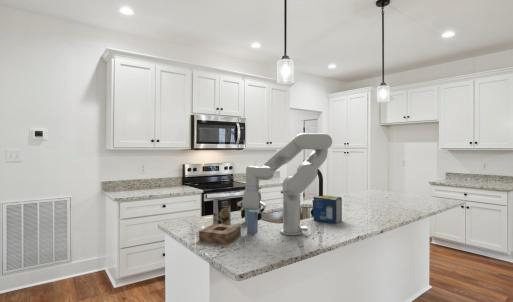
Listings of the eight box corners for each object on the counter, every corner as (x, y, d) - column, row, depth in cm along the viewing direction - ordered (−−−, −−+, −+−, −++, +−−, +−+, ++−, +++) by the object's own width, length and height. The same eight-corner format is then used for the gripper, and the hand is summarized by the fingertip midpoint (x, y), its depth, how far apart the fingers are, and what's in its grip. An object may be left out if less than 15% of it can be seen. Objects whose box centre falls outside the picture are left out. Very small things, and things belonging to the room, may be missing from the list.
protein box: (320, 217, 200) (320, 194, 199) (342, 221, 190) (342, 197, 190) (313, 220, 191) (313, 196, 191) (335, 224, 182) (335, 199, 182)
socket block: (240, 235, 158) (240, 226, 157) (227, 244, 143) (227, 234, 143) (214, 232, 163) (214, 223, 163) (199, 240, 148) (199, 231, 148)
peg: (257, 232, 164) (257, 211, 164) (254, 234, 160) (254, 212, 160) (250, 231, 165) (250, 210, 165) (247, 233, 161) (247, 211, 161)
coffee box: (218, 227, 174) (218, 200, 174) (212, 224, 179) (212, 198, 179) (231, 224, 180) (231, 198, 180) (225, 222, 185) (225, 197, 185)
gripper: (269, 188, 163) (267, 219, 163) (240, 186, 169) (239, 215, 169) (264, 190, 156) (263, 222, 156) (235, 187, 162) (234, 218, 162)
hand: (251, 218), depth 162 cm, fingers open, 9 cm apart
